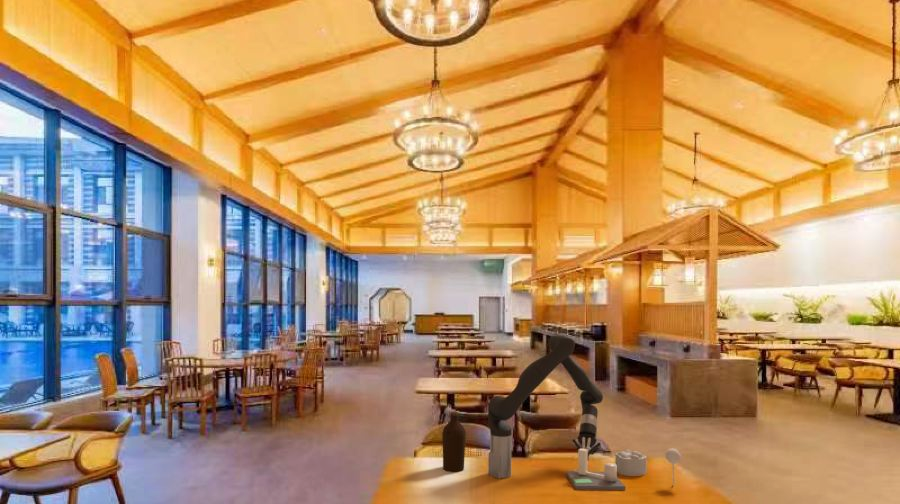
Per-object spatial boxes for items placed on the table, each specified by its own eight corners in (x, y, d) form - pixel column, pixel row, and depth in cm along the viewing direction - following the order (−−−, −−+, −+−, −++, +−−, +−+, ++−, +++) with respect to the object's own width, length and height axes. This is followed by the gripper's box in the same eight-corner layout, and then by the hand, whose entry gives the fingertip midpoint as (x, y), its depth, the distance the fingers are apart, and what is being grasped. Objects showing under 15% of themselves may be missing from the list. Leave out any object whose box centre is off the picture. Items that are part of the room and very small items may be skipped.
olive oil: (465, 473, 234) (466, 414, 236) (441, 472, 234) (442, 414, 236) (465, 465, 244) (466, 409, 246) (442, 464, 245) (443, 409, 247)
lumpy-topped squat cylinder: (613, 468, 244) (613, 448, 245) (640, 468, 245) (640, 448, 246) (622, 476, 234) (622, 455, 234) (651, 475, 235) (651, 455, 235)
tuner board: (576, 489, 216) (576, 485, 216) (566, 474, 234) (566, 470, 234) (625, 490, 216) (625, 486, 216) (611, 475, 234) (611, 471, 234)
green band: (589, 479, 224) (589, 478, 224) (592, 482, 220) (592, 482, 220) (572, 479, 223) (572, 479, 223) (576, 483, 219) (576, 482, 219)
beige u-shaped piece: (618, 479, 223) (618, 454, 224) (614, 482, 219) (614, 457, 220) (576, 470, 234) (576, 446, 235) (571, 473, 230) (571, 449, 231)
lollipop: (680, 484, 224) (680, 447, 226) (682, 488, 219) (681, 451, 220) (665, 482, 226) (664, 446, 228) (665, 486, 221) (665, 449, 222)
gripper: (572, 420, 247) (568, 455, 234) (602, 423, 242) (599, 459, 229) (574, 429, 251) (570, 464, 239) (603, 432, 246) (601, 468, 234)
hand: (584, 461), depth 234 cm, fingers closed
